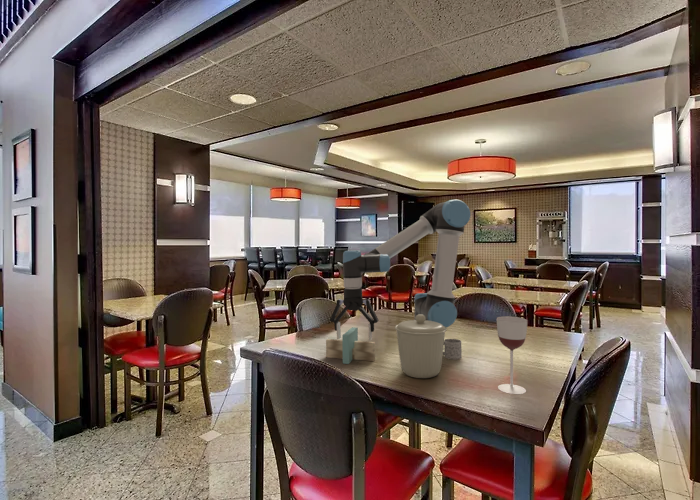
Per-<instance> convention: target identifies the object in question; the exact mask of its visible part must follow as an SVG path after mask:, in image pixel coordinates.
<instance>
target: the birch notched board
mask: <svg viewBox="0 0 700 500" xmlns="http://www.w3.org/2000/svg"><path fill="white" fill-rule="evenodd" d="M325 353H326V355H325V357H326V358H331V359H342V360H343V344H342V339H337V338H336V339H335V338H326V340H325ZM352 360H357V361H358V360H359V361H366V362H367V361H370V362H375V361H376V341H365V340H358V341H355V342H354V348H353V349H352Z"/></svg>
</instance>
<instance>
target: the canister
mask: <svg viewBox="0 0 700 500" xmlns="http://www.w3.org/2000/svg"><path fill="white" fill-rule="evenodd" d="M415 319H416V320H415ZM425 319H426V318H425V316H424V315H422V314H418V315H416V317H415V316H414V319H413V320H411V319H408V320H403V321H401V322H399V323H398V324H396V325H394V329H395V331H396V336H397V337H396V338H397V345H398V355H399V362H400V367H401V370H402V372H403V373H404V374H405V375H406V376H408V377H411V378H415V379H429V378H430V379H431V378H434V377H437V376H438V375H439V373H440V372H441V368H442V363H443V356H444V355H443V352H444V340H445V335H446V334H445V333H446V332H447V330H448V329H447V328H448V327H445V326H443V325H442V324H440V323H438V322H434V321H428V320H425Z"/></svg>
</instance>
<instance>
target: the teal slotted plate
mask: <svg viewBox="0 0 700 500" xmlns="http://www.w3.org/2000/svg"><path fill="white" fill-rule="evenodd" d="M358 328H359V327H354V326H353V327H351V328H350V329H348V330H346V331H345V333H343V334H341V340H342V344H343V359H342V364H343V365H345V364H346V365H349V364H351V362H352V361H353V359H352V349H353V348H354V342H355V341H359V336H358V335H359V332H358V331H359V330H358Z"/></svg>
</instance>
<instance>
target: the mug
mask: <svg viewBox="0 0 700 500" xmlns="http://www.w3.org/2000/svg"><path fill="white" fill-rule="evenodd" d="M462 353H463V351H462V340H461V339H457V338H446V339H445V338H444V346H443V355H442V356H444V358H445V359H447V360H461V359H462V355H463V354H462Z"/></svg>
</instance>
